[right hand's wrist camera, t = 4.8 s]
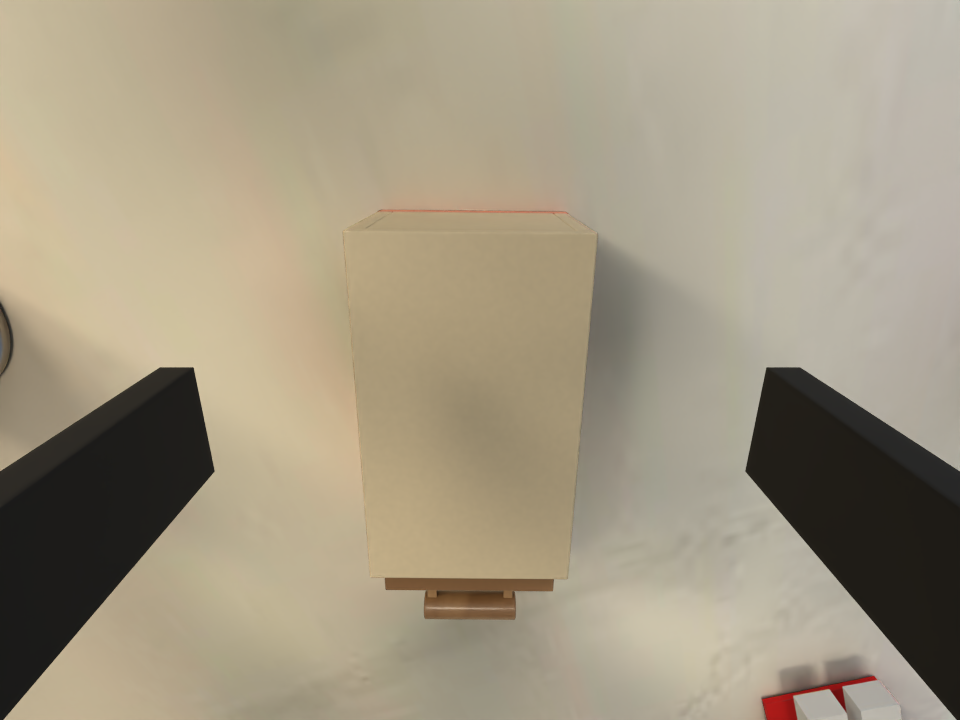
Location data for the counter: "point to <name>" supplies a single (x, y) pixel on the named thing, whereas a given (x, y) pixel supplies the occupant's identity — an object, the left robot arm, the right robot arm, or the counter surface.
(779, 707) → the toy
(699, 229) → the counter surface
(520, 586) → the drawer
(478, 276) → the cabinet
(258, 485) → the counter surface
